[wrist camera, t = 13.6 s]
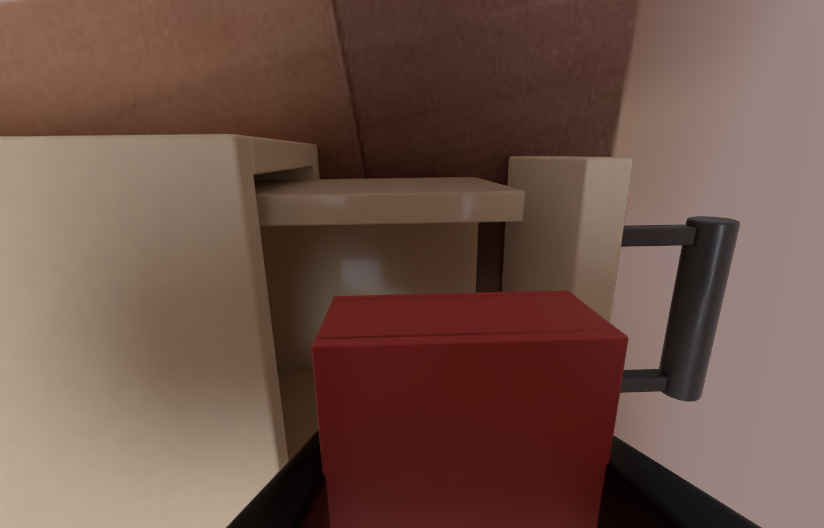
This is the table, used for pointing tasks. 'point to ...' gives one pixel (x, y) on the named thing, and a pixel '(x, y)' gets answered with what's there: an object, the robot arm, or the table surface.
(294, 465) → the robot arm
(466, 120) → the table surface
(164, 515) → the cabinet
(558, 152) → the table surface
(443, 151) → the table surface
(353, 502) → the book
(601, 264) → the drawer
